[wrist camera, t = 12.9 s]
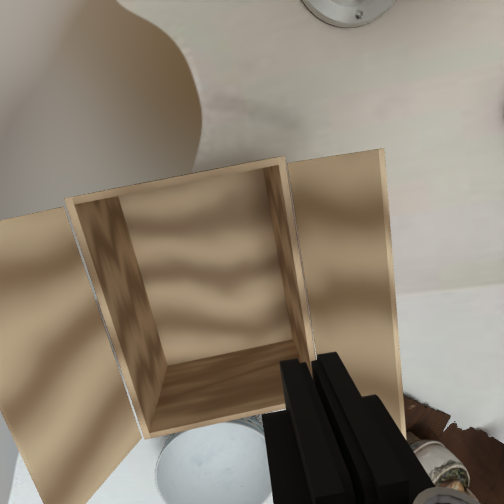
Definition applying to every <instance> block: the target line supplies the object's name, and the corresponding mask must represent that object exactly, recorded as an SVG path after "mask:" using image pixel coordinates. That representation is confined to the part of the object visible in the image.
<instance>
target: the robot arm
mask: <svg viewBox="0 0 504 504" xmlns="http://www.w3.org/2000/svg"><path fill="white" fill-rule="evenodd" d="M302 1H303V2H304V4H305V5H306V6H307V8H308V9H309V10H310V11H311V12H312V13H313V14H314V15H316V16H317V17H318V18H319V19H321V20H323V21H325V22H326V23H328V24H331V25H334V26H337V27H347V28H350V27H358V26H362V25H365V24H368V23H370V22H372V21H373V20H375V19H377V18H378V17H380V16H381V15H382V14H383V13H385V12H386V11H387V10H388V9H389V8H390V7H391V6H392V5H393V4H394V2H395V1H396V0H302ZM355 16H357V17H358V19H357V18H356V17H355ZM279 364H280V371H281V378H282V385H283V392H284V399H285V406H286V410H284V411H278V412H272V413H267V414H262V421H263V429H264V436H265V444H266V451H267V458H268V466H269V473H270V481H271V488H272V495H273V503H274V504H480V503H479V502H478V501H477V500H475V499H474V498H472V497H470V496H469V495H467V494H465V493H463V492H460V491H458V490H455V489H452V488H446V487H435V485H434V483H433V482H432V480H431V479H430V477H429V475H428V474H427V472H426V471H425V469H424V468H423V466H422V464H421V463H420V461H419V460H418V458H417V456H416V455H415V453H414V452H413V450H412V448H411V447H410V445H409V444H408V442H407V441H406V439H405V437H404V436H403V434H402V433H401V431H400V429H399V428H398V426H397V425H396V423H395V422H394V420H393V418H392V417H391V415H390V414H389V412H388V410H387V409H386V407H385V406H384V404H383V402H382V401H381V399H380V398H379V397H378V396H377V395H376V394H374V395H368V396H363V397H362V396H361V394H360V392H359V391H358V389H357V387H356V385H355V384H354V382H353V380H352V378H351V376H350V375H349V373H348V371H347V369H346V367H345V366H344V364H343V362H342V360H341V359H340V357H339V355H338V353H337V352H336V351H335V352H329V353H323V354H318V355H317V360H314V361H311V368H312V376H311V373H310V371H309V368H308V366H307V363H306V362H302V363H299V360H298V358H295V359H289V360H283V361H279ZM312 377H313V379H312Z"/></svg>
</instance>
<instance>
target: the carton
mask: <svg viewBox="0 0 504 504" xmlns="http://www.w3.org/2000/svg"><path fill="white" fill-rule="evenodd" d="M64 200H65V203H66V206H67V209H68V211H69V215H70V218H71V221H72V224H73V227H74V230H75V232H76V236H77V239H78V241H79V245H80V247H81V251H82V254H83V257H84V260H85V263H86V266H87V269H88V272H89V275H90V277H91V281H92V283H93V287H94V290H95V292H96V295H97V298H98V301H99V304H100V307H101V310H102V313H103V316H104V319H105V322H106V325H107V328H108V331H109V334H110V337H111V340H112V343H113V346H114V349H115V352H116V355H117V358H118V361H119V364H120V367H121V370H122V373H123V376H124V379H125V382H126V385H127V388H128V391H129V394H130V397H131V400H132V403H133V406H134V409H135V412H136V415H137V418H138V421H139V424H140V427H141V430H142V433H143V436H144V439H150V438H154V437H159V436H163V435H168V434H172V433H177V432H181V431H186V430H191V429H195V428H200V427H204V426H209V425H213V424H218V423H222V422H227V421H231V420H236V419H240V418H245V417H249V416H254V415H258V414H263V413H267V412H272V411H276V410H281V409H286V406H285V399H284V392H283V385H282V378H281V371H280V364H279V361H283V360H289V359H295V358H298V360H299V363H302V362H306V363H307V366H308V368H309V371H310V373H311V376H312V368H311V361H314V360H316V356H315V350H314V343H313V337H312V330H311V324H310V317H309V311H308V304H307V298H306V291H305V285H304V278H303V272H302V265H301V259H300V252H299V246H298V239H297V233H296V226H295V220H294V213H293V207H292V200H291V194H290V187H289V181H288V174H287V168H286V161H285V156H281V157H275V158H269V159H264V160H258V161H253V162H248V163H243V164H238V165H232V166H227V167H222V168H217V169H212V170H207V171H201V172H196V173H191V174H186V175H181V176H176V177H171V178H165V179H160V180H155V181H150V182H145V183H139V184H134V185H129V186H124V187H119V188H113V189H108V190H104V191H99V192H94V193H89V194H84V195H79V196H74V197H69V198H64ZM312 379H313V377H312Z"/></svg>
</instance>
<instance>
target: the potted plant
mask: <svg viewBox="0 0 504 504" xmlns="http://www.w3.org/2000/svg"><path fill="white" fill-rule="evenodd" d="M403 400H404V413H405V427H406V440H407V442H408V444H409V445H410V447H411V448H412V450H413V452H414V453H415V455H416V456H417V458H418V460H419V461H420V463H421V464H422V466H423V468H424V469H425V471H426V472H427V474H428V475H429V477H430V479H431V480H432V482H433V483H434V485H435V487H446V488H452V489H455V490H458V491H460V492H463V493H465V494H467V495H469V496H470V497H472V498H474V499H475V500H477V501H478V502H479V503H480V504H504V444H503V443H501V442H500V441H498V440H497V439H495V438H493V437H488V434H487V433H485V432H483V431H482V430H479V431H476V430H475V429H474V428H472V427H470V428H469V429H466V430H462V429H460V428H457V427H458V426H457V424H456V423H452V424H450V425H449V427H447V429H446V430H445V431H443V430H444V428H445V427H446V424H447V423H448V421H449V419H450V417H451V416H450V415H448V414H446V413H443V412H441V411H439V412H437V411H436V410H435V411H434V410H432V408H430V407H427V408H426V407H424V405H423V404H420V403H418V402H416V401H414V400H411V399H409V398H407V397H405V396H403ZM454 422H455V421H454Z"/></svg>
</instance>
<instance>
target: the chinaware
mask: <svg viewBox="0 0 504 504" xmlns="http://www.w3.org/2000/svg"><path fill="white" fill-rule="evenodd" d="M155 483H156V487H157V490H158V492H159V494H160V496H161V498H162V499H163V501H164V502H165V503H166V504H264V503H265V502H266V501H267V500H268V498H269V497H270V496H271V494H272V488H271V481H270V473H269V466H268V458H267V451H266V444H265V436H264V429H263V427H262V426H261V425H260V424H259V423H258V422H257V421H256V420H255V419H254V418H252V417H251V416H249V417H245V418H240V419H236V420H231V421H227V422H222V423H218V424H213V425H209V426H204V427H200V428H195V429H191V430H186V431H181V432H177V433H172V434H171V436H170V437H169V439H168V440H167V442H166V444H165V445H164V447H163V449H162V451H161V453H160V456H159V458H158V461H157V464H156V469H155Z"/></svg>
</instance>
